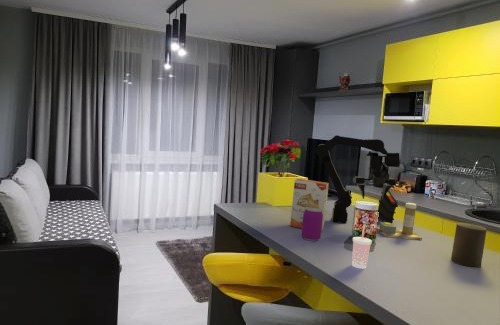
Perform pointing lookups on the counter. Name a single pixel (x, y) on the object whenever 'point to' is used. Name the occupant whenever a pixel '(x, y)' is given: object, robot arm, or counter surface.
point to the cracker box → (308, 199)
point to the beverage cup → (360, 251)
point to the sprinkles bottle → (409, 218)
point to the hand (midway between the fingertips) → (373, 199)
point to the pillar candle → (468, 244)
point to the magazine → (387, 208)
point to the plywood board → (400, 234)
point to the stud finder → (387, 227)
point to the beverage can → (312, 224)
